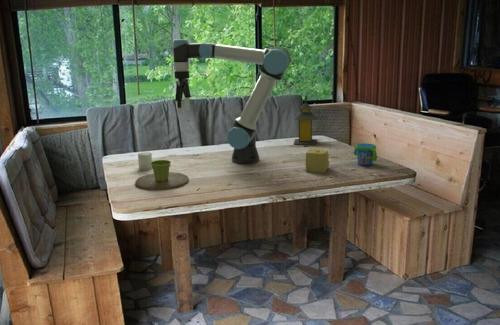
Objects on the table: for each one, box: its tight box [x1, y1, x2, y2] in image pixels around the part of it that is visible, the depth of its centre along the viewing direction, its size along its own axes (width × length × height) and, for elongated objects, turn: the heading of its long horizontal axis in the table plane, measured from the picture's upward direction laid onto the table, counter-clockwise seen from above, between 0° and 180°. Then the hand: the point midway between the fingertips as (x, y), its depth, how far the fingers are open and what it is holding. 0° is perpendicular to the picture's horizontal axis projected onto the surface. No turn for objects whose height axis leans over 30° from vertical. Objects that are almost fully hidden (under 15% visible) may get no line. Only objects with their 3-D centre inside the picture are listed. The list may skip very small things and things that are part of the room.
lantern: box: [293, 94, 318, 146], centre depth 296 cm, size 14×14×30 cm
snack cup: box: [353, 143, 378, 166], centre depth 247 cm, size 16×10×10 cm
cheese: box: [305, 147, 330, 174], centre depth 239 cm, size 10×11×10 cm
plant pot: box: [151, 159, 172, 182], centre depth 222 cm, size 9×9×9 cm
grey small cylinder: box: [137, 151, 153, 172], centre depth 247 cm, size 7×7×8 cm
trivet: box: [135, 171, 190, 191], centre depth 225 cm, size 25×25×2 cm
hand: (183, 112), depth 246 cm, fingers open, 13 cm apart
